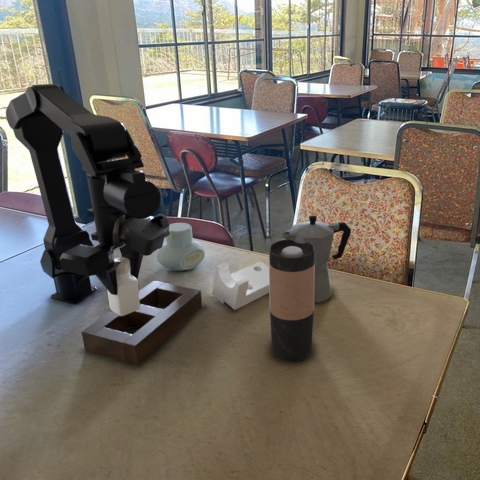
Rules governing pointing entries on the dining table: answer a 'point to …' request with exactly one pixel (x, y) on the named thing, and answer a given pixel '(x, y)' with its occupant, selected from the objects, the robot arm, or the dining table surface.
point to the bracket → (240, 284)
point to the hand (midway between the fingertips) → (124, 287)
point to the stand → (143, 323)
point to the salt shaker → (124, 290)
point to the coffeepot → (320, 249)
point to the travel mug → (291, 299)
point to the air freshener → (180, 249)
